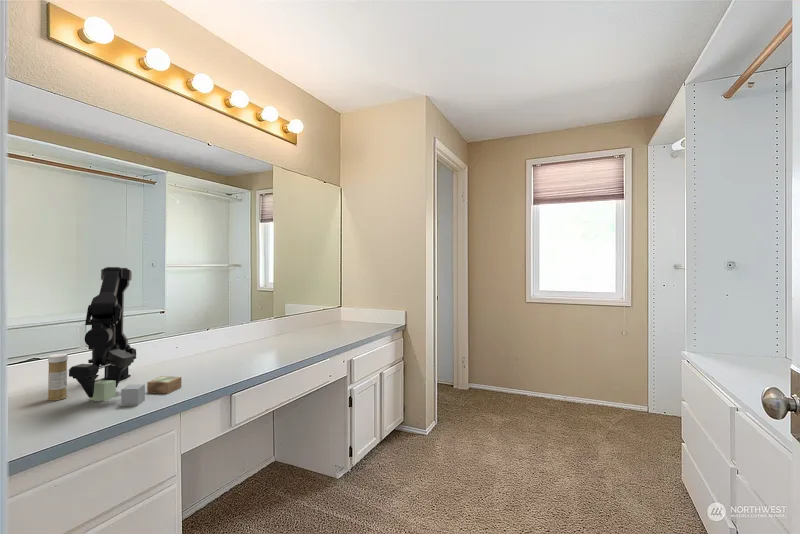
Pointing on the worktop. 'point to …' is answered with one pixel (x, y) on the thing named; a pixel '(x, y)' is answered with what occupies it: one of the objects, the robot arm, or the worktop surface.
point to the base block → (163, 384)
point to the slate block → (133, 395)
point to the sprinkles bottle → (57, 376)
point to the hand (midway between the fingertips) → (103, 392)
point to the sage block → (104, 390)
